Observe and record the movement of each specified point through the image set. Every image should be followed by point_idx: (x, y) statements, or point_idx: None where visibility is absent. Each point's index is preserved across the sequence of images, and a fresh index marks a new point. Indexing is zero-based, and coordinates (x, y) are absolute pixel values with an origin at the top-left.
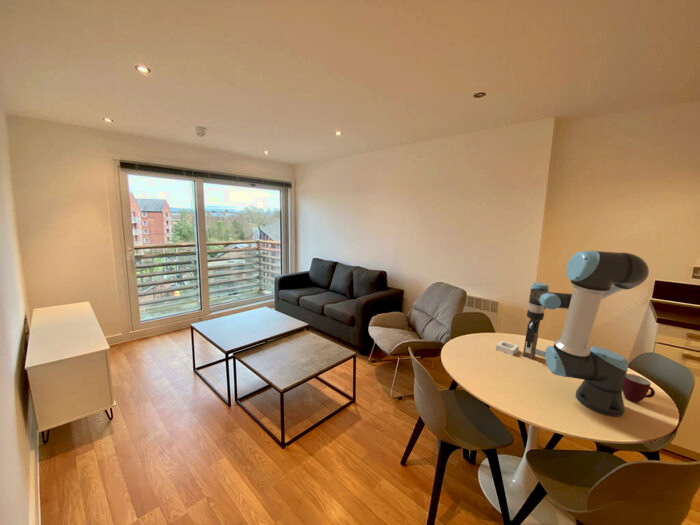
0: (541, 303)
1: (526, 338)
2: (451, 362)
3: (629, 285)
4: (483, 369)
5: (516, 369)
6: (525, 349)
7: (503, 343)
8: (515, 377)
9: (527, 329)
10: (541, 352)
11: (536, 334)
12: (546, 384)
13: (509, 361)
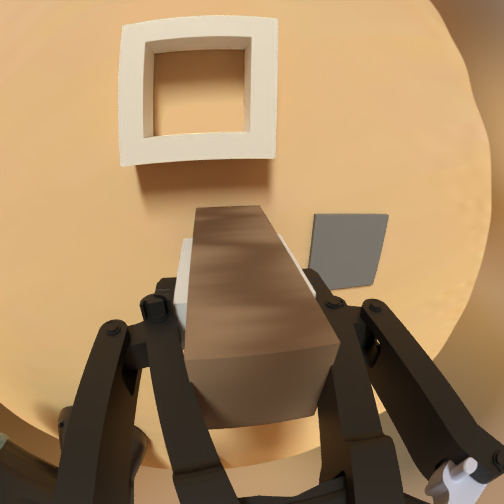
0: None
1: (96, 352)
2: None
3: None
4: None
5: (11, 255)
6: (181, 249)
7: (236, 40)
8: None
9: (60, 475)
10: (353, 267)
11: (280, 416)
12: (41, 356)
13: (41, 191)
